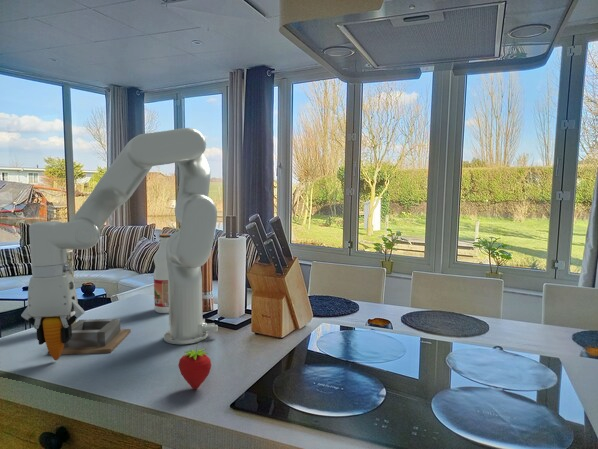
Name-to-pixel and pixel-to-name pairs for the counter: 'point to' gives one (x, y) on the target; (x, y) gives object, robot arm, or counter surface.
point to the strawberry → (195, 367)
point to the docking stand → (95, 336)
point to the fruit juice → (161, 276)
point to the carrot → (53, 336)
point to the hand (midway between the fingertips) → (55, 341)
